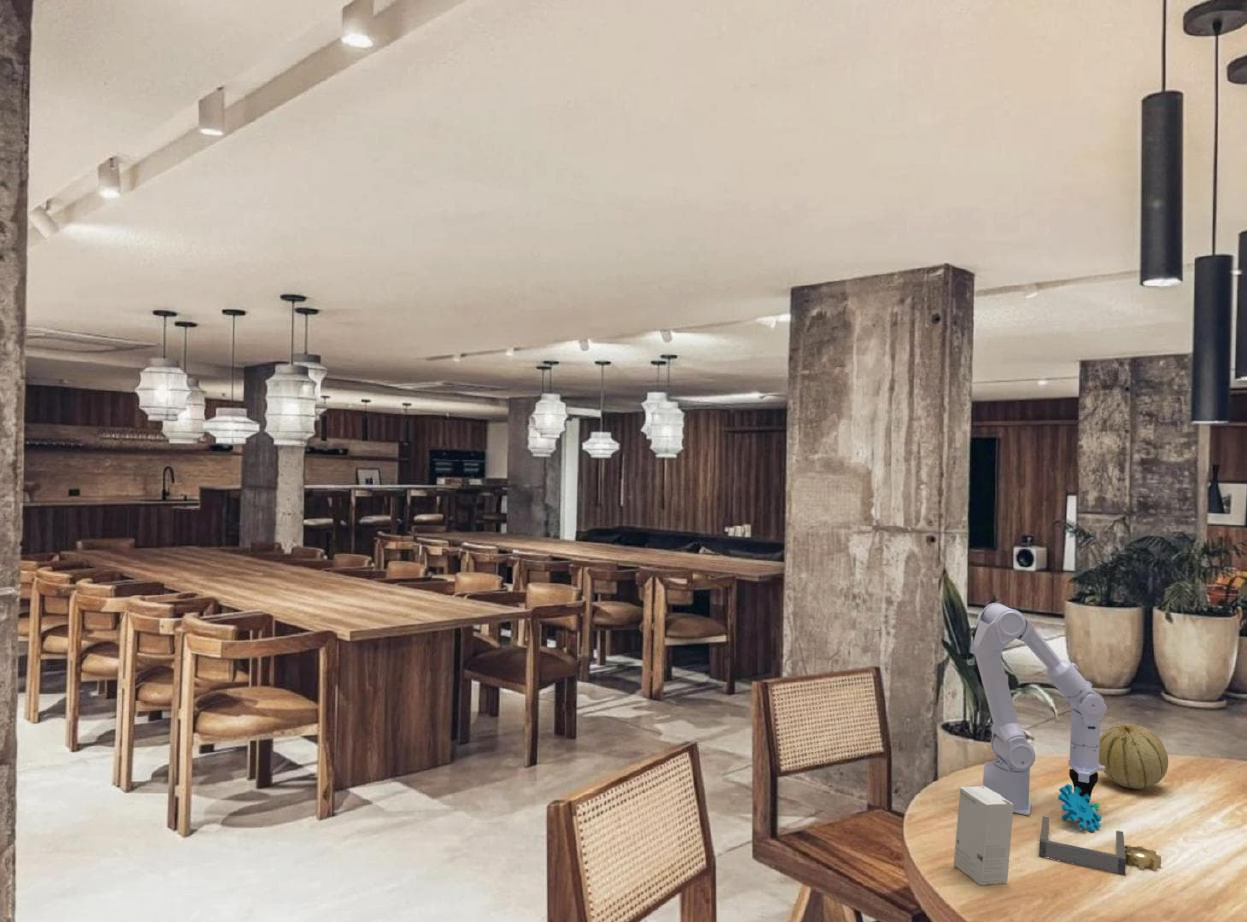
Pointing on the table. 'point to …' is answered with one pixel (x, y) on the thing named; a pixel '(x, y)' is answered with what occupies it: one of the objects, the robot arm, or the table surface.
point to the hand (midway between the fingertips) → (1082, 805)
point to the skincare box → (983, 835)
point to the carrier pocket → (1098, 854)
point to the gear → (1079, 808)
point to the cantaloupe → (1132, 756)
